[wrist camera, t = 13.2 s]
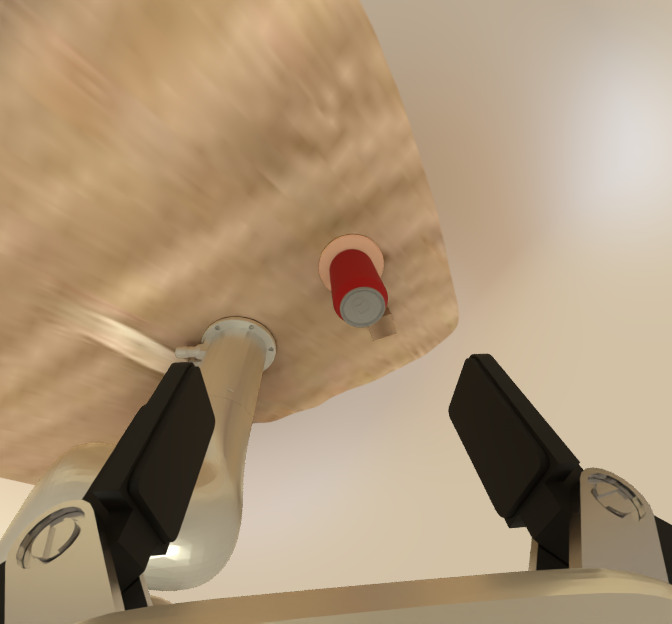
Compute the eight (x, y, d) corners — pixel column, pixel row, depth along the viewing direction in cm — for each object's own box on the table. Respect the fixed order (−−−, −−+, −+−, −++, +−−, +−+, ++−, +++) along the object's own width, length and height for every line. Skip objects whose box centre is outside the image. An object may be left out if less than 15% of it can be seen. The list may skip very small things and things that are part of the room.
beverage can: (344, 295, 45) (354, 341, 35) (319, 264, 42) (322, 304, 32) (380, 272, 44) (401, 313, 34) (357, 238, 41) (372, 271, 30)
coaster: (319, 295, 46) (319, 296, 45) (318, 233, 40) (318, 235, 40) (379, 294, 46) (380, 296, 46) (386, 234, 41) (387, 235, 41)
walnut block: (369, 326, 50) (373, 340, 47) (362, 309, 48) (366, 322, 44) (390, 319, 49) (396, 333, 46) (385, 301, 47) (390, 313, 44)
